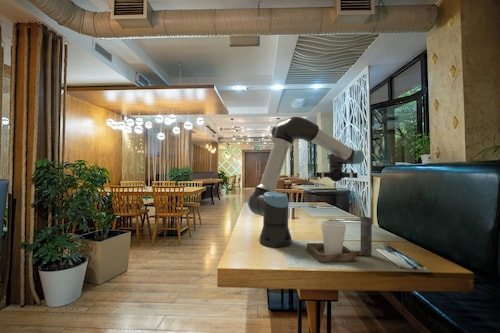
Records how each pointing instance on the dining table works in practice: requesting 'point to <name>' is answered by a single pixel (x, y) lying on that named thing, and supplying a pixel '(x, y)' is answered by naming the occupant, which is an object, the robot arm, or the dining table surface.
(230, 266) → the dining table surface
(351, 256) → the sliding frame
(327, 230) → the foam cup
